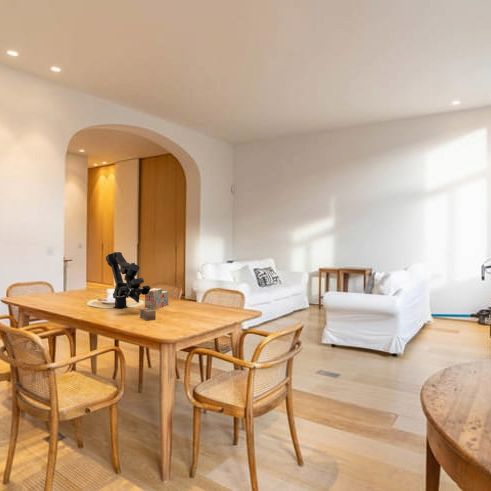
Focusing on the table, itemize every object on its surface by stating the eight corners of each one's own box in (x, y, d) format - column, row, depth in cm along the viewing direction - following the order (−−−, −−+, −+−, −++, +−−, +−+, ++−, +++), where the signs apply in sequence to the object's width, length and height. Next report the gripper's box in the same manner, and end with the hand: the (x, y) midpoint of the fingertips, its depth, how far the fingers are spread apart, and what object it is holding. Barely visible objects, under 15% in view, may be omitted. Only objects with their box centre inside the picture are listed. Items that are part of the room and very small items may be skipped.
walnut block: (139, 308, 224) (147, 311, 216) (147, 308, 227) (155, 310, 219) (139, 317, 224) (147, 320, 216) (147, 316, 227) (155, 319, 219)
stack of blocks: (159, 304, 269) (160, 286, 268) (168, 304, 267) (168, 286, 267) (144, 309, 248) (144, 290, 248) (153, 310, 246) (153, 290, 246)
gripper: (120, 273, 229) (127, 295, 221) (149, 272, 241) (157, 292, 233) (114, 285, 235) (121, 306, 227) (143, 283, 247) (151, 303, 239)
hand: (138, 302), depth 231 cm, fingers closed
